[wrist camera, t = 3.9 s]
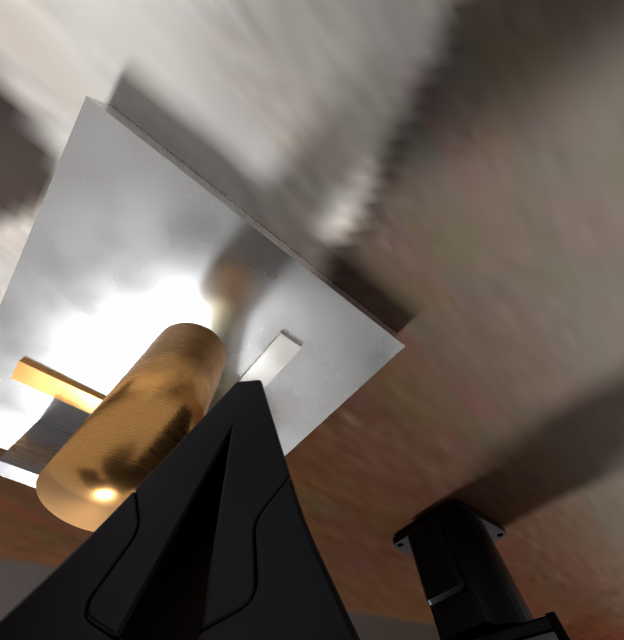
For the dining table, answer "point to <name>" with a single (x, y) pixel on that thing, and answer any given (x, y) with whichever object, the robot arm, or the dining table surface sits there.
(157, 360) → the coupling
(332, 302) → the base
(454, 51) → the dining table surface
